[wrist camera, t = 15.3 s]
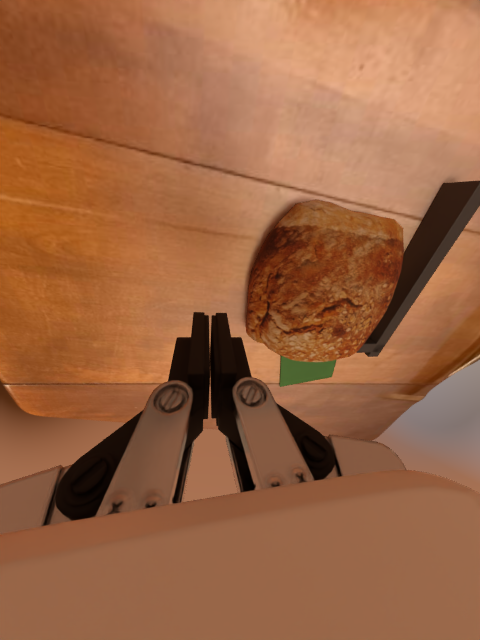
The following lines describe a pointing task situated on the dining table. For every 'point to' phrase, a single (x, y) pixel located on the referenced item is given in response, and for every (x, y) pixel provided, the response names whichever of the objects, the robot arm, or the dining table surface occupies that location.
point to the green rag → (304, 371)
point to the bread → (323, 281)
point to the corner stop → (426, 254)
